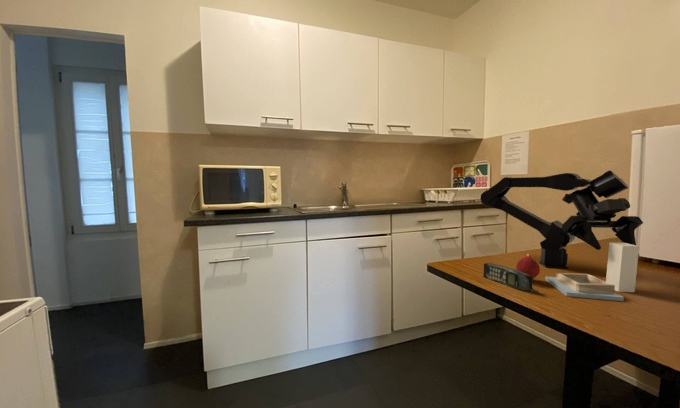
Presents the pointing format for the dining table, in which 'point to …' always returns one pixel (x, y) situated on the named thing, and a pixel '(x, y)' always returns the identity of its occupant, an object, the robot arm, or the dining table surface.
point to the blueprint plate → (574, 293)
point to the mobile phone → (509, 277)
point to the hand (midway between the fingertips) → (617, 249)
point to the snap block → (622, 266)
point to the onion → (528, 266)
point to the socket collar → (595, 286)
